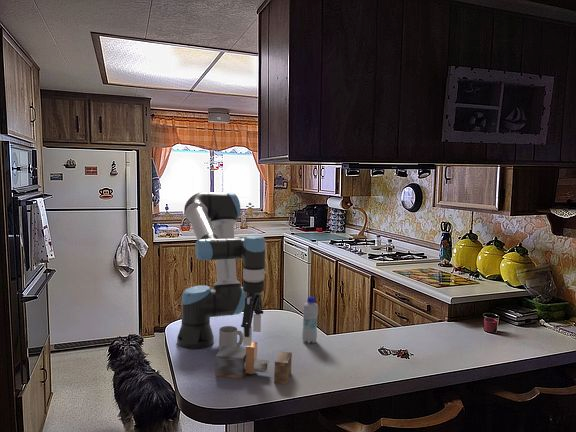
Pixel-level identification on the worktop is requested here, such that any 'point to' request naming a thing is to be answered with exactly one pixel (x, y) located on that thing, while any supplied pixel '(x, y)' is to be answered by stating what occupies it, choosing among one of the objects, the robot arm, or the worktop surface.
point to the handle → (254, 361)
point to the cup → (229, 337)
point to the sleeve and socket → (233, 364)
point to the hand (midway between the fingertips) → (252, 338)
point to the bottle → (310, 320)
